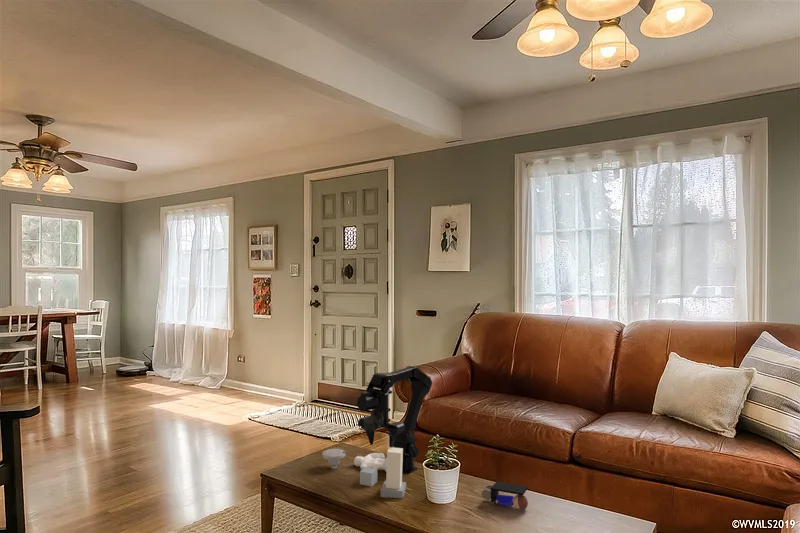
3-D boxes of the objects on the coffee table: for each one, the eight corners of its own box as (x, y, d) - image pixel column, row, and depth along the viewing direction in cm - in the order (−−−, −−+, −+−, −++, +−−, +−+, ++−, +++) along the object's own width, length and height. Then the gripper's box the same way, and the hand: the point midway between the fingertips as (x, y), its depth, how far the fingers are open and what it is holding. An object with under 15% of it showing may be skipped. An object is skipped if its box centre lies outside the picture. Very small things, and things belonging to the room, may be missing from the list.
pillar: (388, 482, 185) (389, 447, 186) (401, 483, 185) (402, 448, 185) (386, 487, 181) (387, 451, 181) (399, 489, 180) (400, 453, 180)
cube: (366, 479, 195) (365, 466, 195) (377, 481, 193) (377, 468, 193) (359, 484, 190) (359, 471, 190) (371, 486, 188) (371, 473, 188)
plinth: (385, 488, 187) (385, 480, 187) (406, 490, 186) (406, 482, 186) (380, 498, 179) (380, 489, 179) (402, 499, 178) (402, 491, 178)
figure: (404, 463, 207) (363, 459, 215) (401, 449, 205) (359, 446, 214) (393, 481, 197) (351, 476, 206) (390, 467, 195) (347, 463, 204)
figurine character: (482, 509, 172) (525, 514, 165) (479, 486, 173) (522, 490, 166) (489, 501, 178) (531, 506, 171) (486, 479, 179) (528, 483, 171)
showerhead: (343, 454, 201) (319, 453, 203) (343, 472, 201) (319, 471, 203) (349, 446, 211) (326, 445, 212) (349, 464, 211) (326, 462, 212)
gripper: (349, 407, 192) (349, 448, 192) (388, 414, 182) (388, 458, 181) (367, 401, 202) (367, 440, 201) (405, 408, 191) (405, 449, 191)
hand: (381, 447), depth 193 cm, fingers open, 9 cm apart
